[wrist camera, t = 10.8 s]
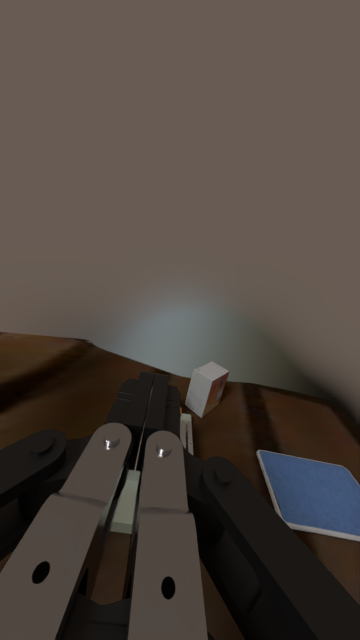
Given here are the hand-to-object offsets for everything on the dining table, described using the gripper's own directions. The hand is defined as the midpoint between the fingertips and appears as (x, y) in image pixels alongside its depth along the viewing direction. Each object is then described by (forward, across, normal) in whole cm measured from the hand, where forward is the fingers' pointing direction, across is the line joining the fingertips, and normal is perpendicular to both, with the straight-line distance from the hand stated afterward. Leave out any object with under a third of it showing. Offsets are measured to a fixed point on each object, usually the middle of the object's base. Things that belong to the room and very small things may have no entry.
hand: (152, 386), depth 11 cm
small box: (+33, -13, +28) cm, 45 cm away
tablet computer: (+16, -32, +29) cm, 46 cm away
